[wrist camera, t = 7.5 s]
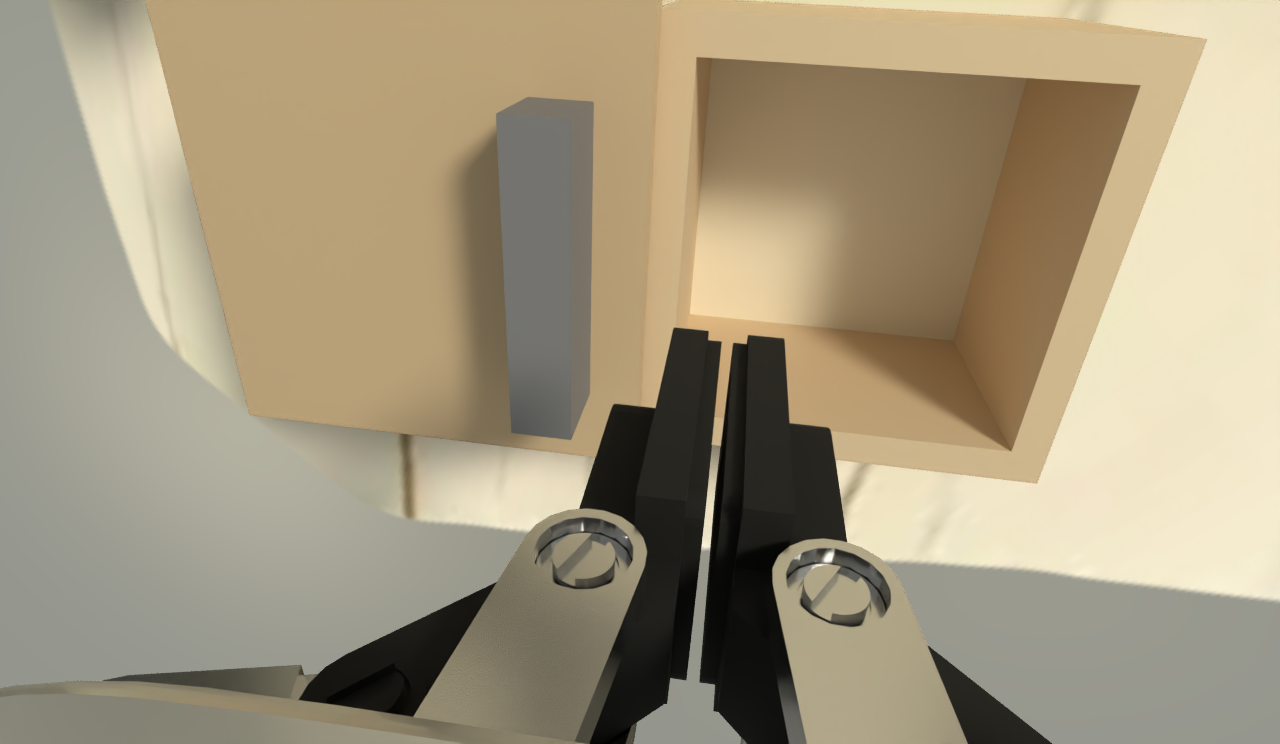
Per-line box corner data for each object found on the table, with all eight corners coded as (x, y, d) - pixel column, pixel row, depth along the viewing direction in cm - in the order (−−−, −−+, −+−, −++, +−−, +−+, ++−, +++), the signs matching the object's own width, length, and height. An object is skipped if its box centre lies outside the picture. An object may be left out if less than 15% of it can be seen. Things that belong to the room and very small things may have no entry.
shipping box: (687, -3, 24) (657, 8, 17) (1071, 18, 23) (1206, 39, 16) (664, 328, 30) (635, 436, 23) (969, 359, 29) (1037, 483, 22)
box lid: (161, -29, 18) (52, -29, 15) (662, -2, 17) (642, 4, 14) (264, 402, 24) (199, 458, 21) (638, 447, 23) (621, 513, 20)
